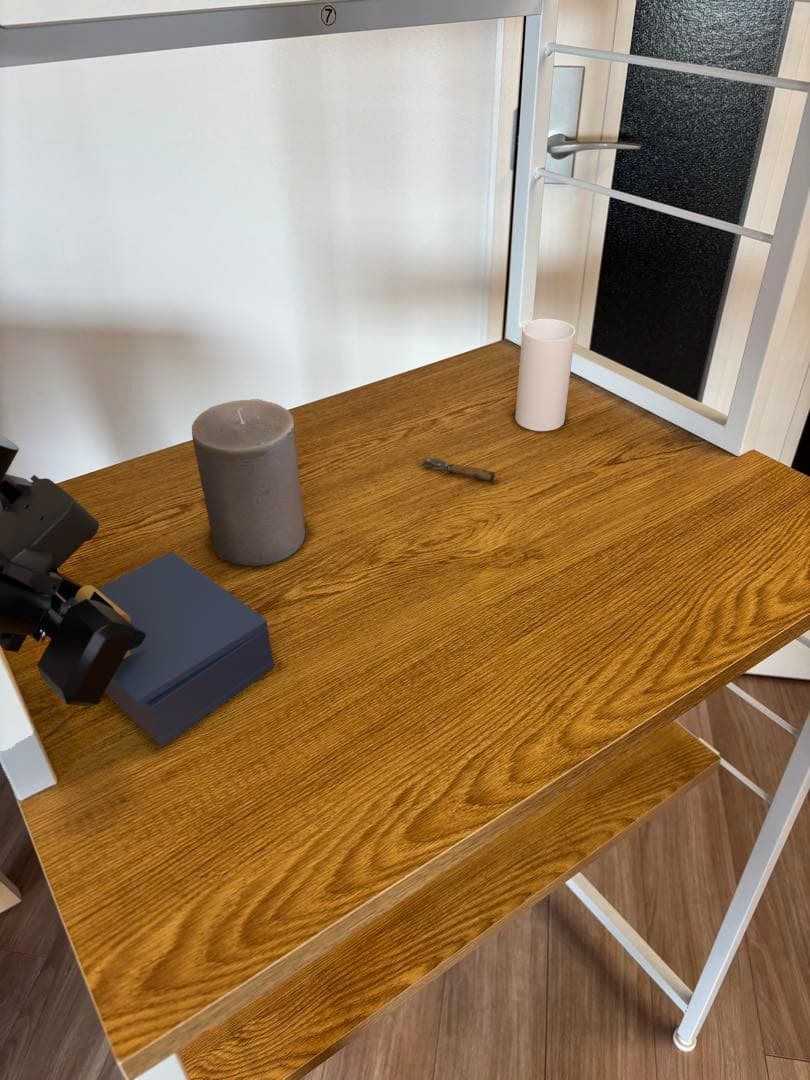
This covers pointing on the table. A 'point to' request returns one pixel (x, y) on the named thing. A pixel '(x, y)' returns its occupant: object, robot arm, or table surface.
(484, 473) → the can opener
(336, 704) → the table surface
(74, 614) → the robot arm
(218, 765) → the table surface
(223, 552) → the pillar candle
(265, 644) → the chest
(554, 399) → the cup
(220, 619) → the lid
